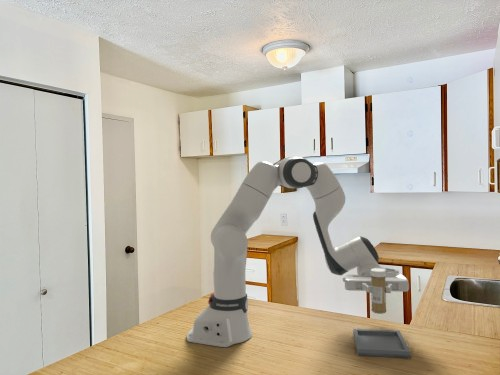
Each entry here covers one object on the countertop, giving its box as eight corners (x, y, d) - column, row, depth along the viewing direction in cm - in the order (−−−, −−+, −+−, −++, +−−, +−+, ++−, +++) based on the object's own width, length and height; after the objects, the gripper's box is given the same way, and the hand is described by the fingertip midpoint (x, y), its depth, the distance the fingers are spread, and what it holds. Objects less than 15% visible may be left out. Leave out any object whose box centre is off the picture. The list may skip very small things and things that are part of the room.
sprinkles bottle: (389, 312, 116) (388, 269, 116) (380, 315, 114) (379, 272, 113) (377, 307, 120) (376, 267, 120) (368, 311, 118) (367, 269, 117)
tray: (357, 355, 111) (357, 348, 111) (353, 334, 126) (353, 328, 126) (410, 358, 108) (410, 351, 108) (399, 336, 123) (399, 330, 123)
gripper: (342, 269, 131) (344, 279, 118) (402, 269, 127) (412, 281, 114) (342, 286, 131) (345, 299, 118) (403, 287, 128) (413, 301, 114)
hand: (379, 290), depth 116 cm, fingers closed on sprinkles bottle, 4 cm apart
